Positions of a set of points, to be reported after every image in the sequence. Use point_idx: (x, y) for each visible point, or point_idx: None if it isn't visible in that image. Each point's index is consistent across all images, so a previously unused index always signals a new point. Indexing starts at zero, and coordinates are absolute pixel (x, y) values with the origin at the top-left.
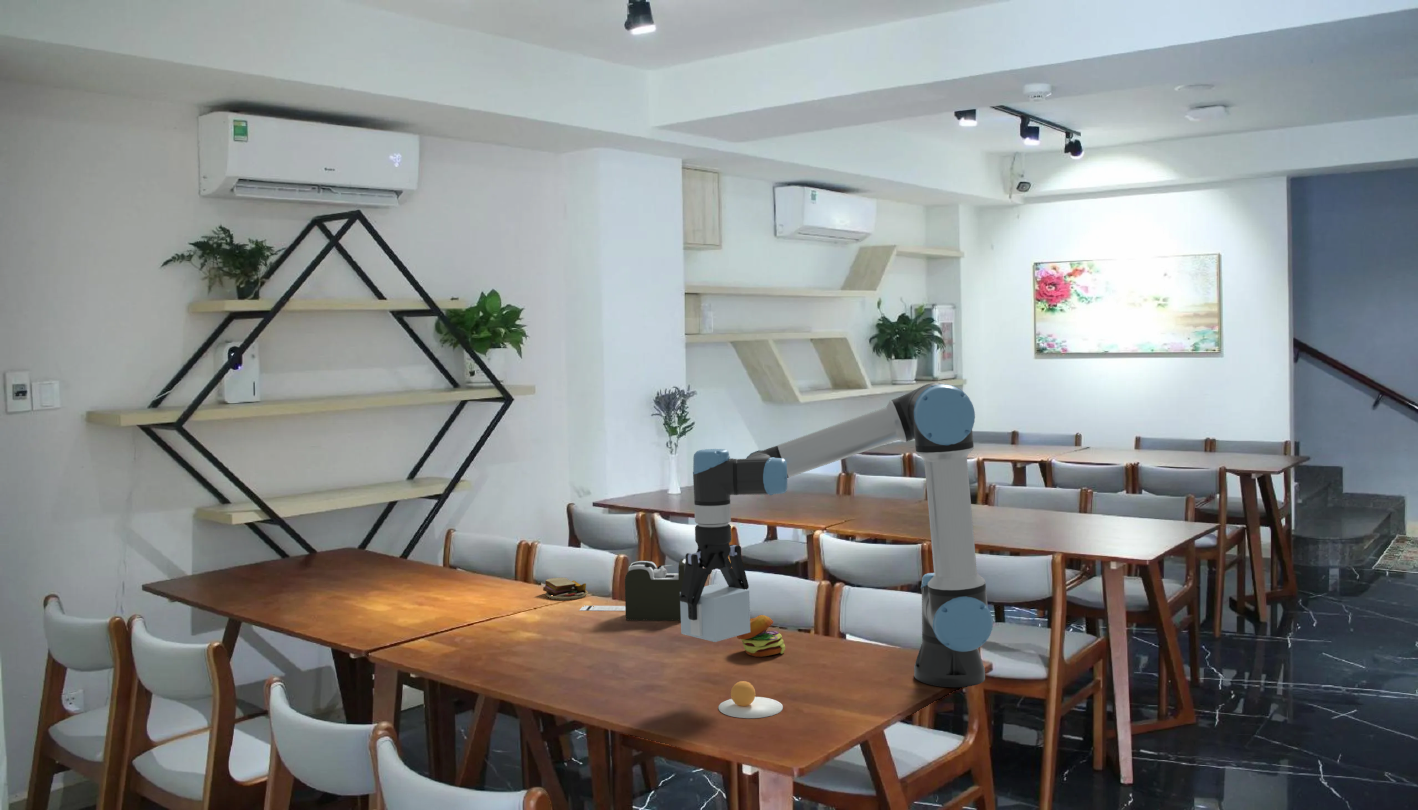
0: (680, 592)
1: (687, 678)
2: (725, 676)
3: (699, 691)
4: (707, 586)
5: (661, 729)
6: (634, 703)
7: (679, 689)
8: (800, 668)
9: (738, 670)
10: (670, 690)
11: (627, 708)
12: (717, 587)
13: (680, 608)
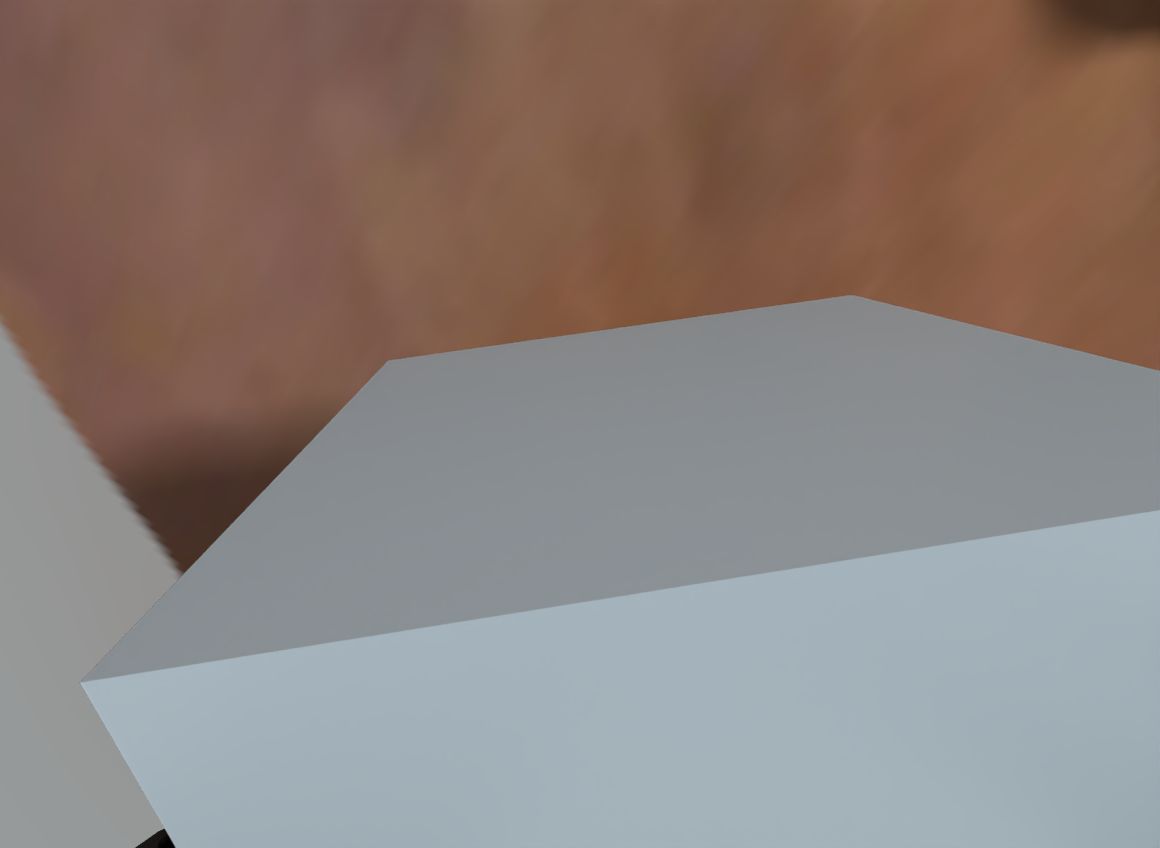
0: (100, 694)
1: (658, 8)
2: (824, 131)
3: (571, 260)
4: (1114, 571)
5: (186, 566)
6: (198, 212)
7: (510, 163)
8: (1134, 271)
9: (945, 84)
10: (462, 145)
11: (136, 259)
12: (1125, 778)
13: (288, 466)
